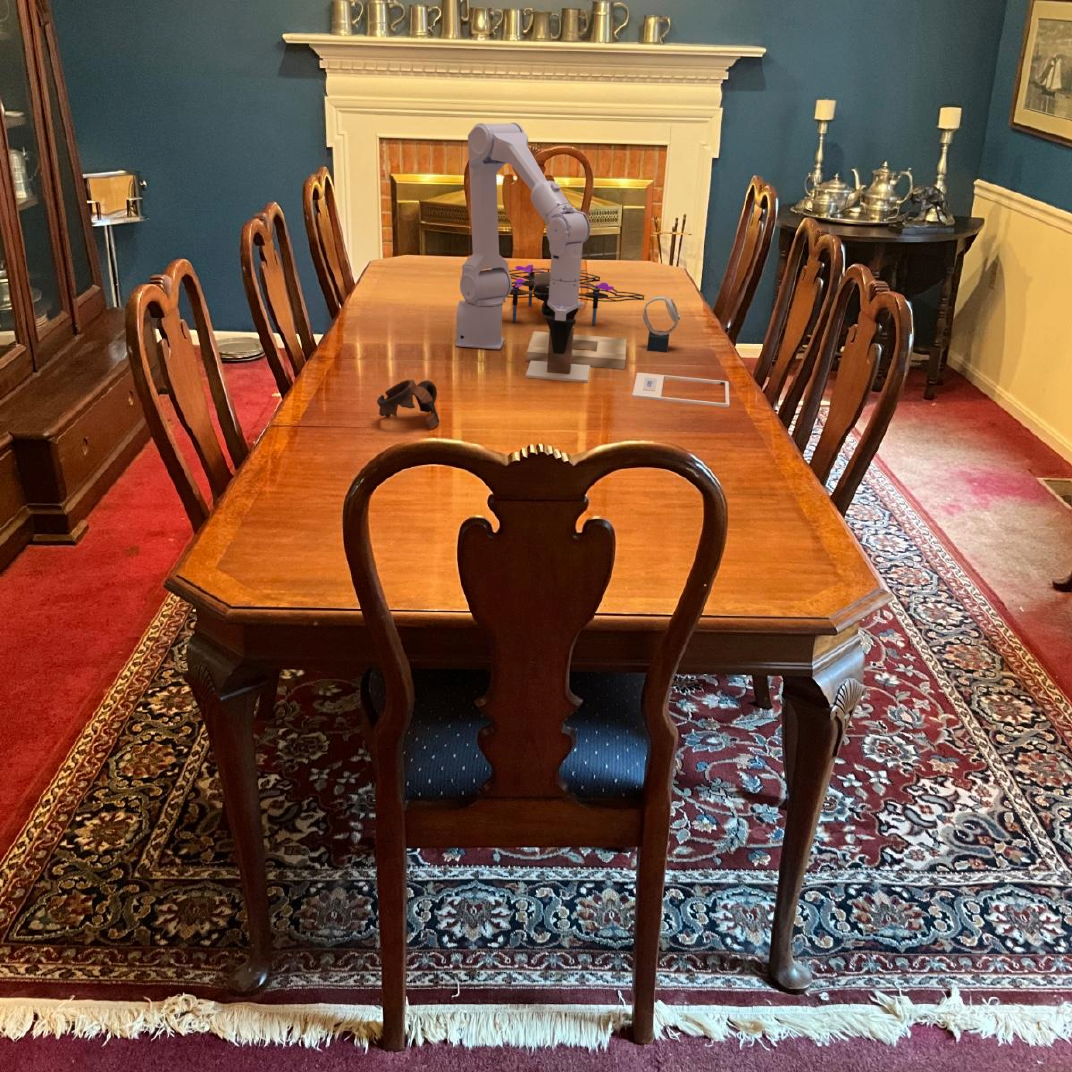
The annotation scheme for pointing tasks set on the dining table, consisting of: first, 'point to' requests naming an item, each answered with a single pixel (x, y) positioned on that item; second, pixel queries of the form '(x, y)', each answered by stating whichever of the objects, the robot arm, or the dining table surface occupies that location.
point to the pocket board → (607, 348)
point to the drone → (541, 290)
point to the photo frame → (653, 383)
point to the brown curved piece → (410, 400)
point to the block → (560, 357)
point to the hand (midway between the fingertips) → (560, 348)
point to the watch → (660, 338)
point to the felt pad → (540, 372)
